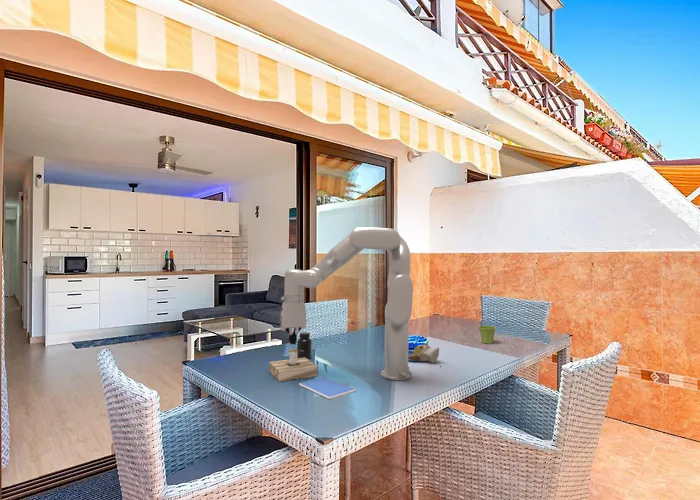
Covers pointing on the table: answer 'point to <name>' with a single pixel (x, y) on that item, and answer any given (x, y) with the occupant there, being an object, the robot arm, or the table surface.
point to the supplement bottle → (304, 346)
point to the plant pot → (487, 334)
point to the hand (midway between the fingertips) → (292, 343)
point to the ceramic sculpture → (425, 353)
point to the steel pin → (293, 357)
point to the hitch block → (293, 369)
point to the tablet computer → (327, 387)
